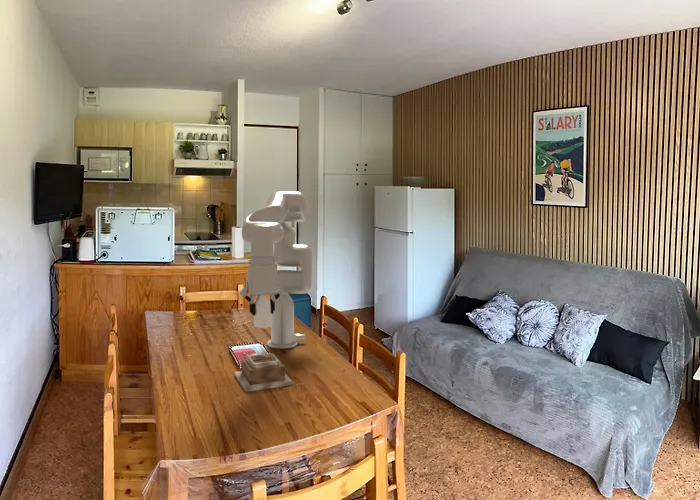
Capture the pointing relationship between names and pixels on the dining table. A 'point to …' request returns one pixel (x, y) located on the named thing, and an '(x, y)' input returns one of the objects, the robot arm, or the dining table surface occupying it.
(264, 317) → the roll
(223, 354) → the dining table surface
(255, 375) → the tower base
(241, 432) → the dining table surface
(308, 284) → the robot arm
